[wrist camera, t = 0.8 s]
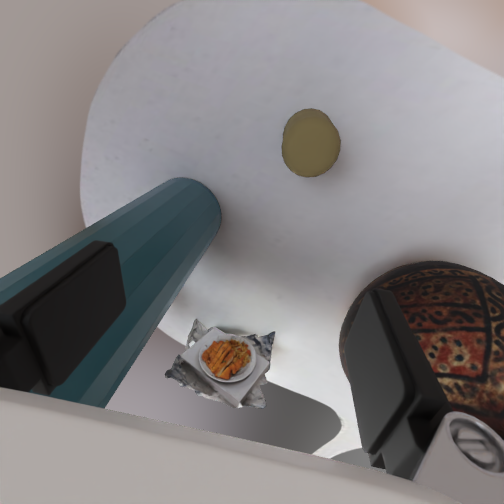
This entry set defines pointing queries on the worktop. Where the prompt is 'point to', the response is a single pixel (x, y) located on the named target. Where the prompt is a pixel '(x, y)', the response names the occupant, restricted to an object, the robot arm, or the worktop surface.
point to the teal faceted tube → (132, 276)
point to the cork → (310, 143)
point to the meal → (224, 366)
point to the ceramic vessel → (452, 331)
